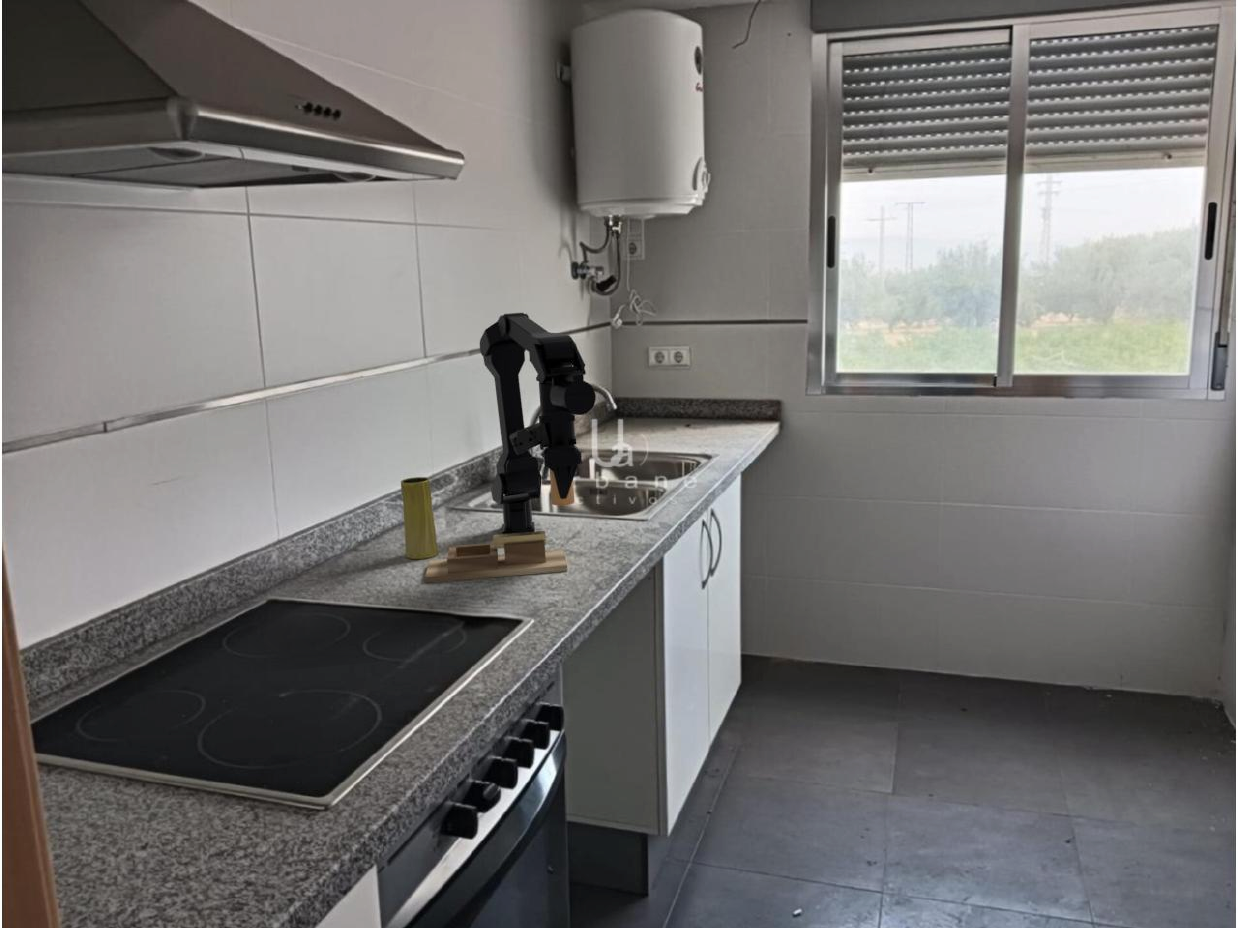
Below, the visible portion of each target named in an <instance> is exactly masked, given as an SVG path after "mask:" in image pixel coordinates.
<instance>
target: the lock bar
mask: <svg viewBox="0 0 1238 928" xmlns="http://www.w3.org/2000/svg"><path fill="white" fill-rule="evenodd" d="M492 537H493V538H492V540H493V543H494V549H498V550H499V549H504V545H510V544H522V543H535V542H545V546H546V545H547V541H546V540H547V539H546V531H545V530H539V531H538V530H537V531H534V532H522V533H509V534H502V533H501V534H493V535H492Z"/></svg>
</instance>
